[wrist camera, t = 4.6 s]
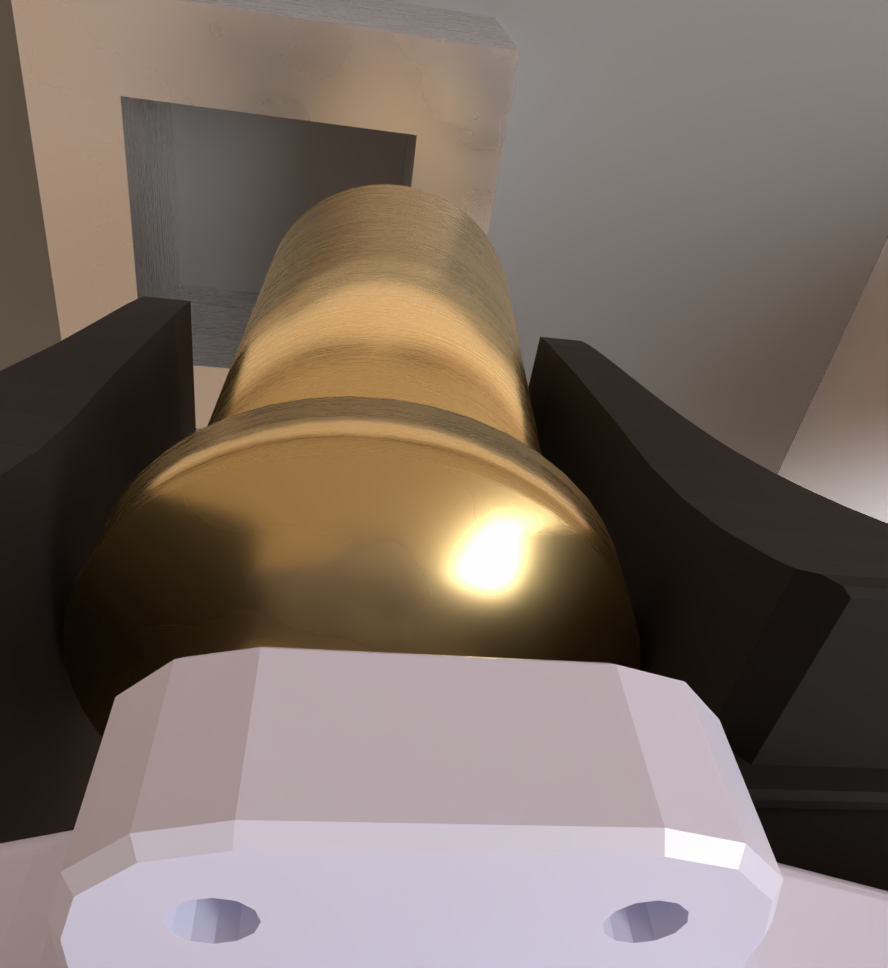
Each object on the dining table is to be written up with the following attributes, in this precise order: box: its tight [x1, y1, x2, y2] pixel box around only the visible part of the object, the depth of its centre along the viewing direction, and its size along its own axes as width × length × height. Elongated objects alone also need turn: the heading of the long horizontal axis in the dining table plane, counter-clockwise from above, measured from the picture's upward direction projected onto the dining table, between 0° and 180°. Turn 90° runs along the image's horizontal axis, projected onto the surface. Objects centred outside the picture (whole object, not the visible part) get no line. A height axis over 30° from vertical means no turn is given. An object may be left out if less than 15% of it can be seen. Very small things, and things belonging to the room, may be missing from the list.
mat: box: [0, 0, 888, 474], centre depth 20 cm, size 23×16×1 cm
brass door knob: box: [63, 184, 641, 738], centre depth 11 cm, size 5×5×8 cm
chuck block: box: [11, 0, 520, 429], centre depth 18 cm, size 8×8×4 cm
